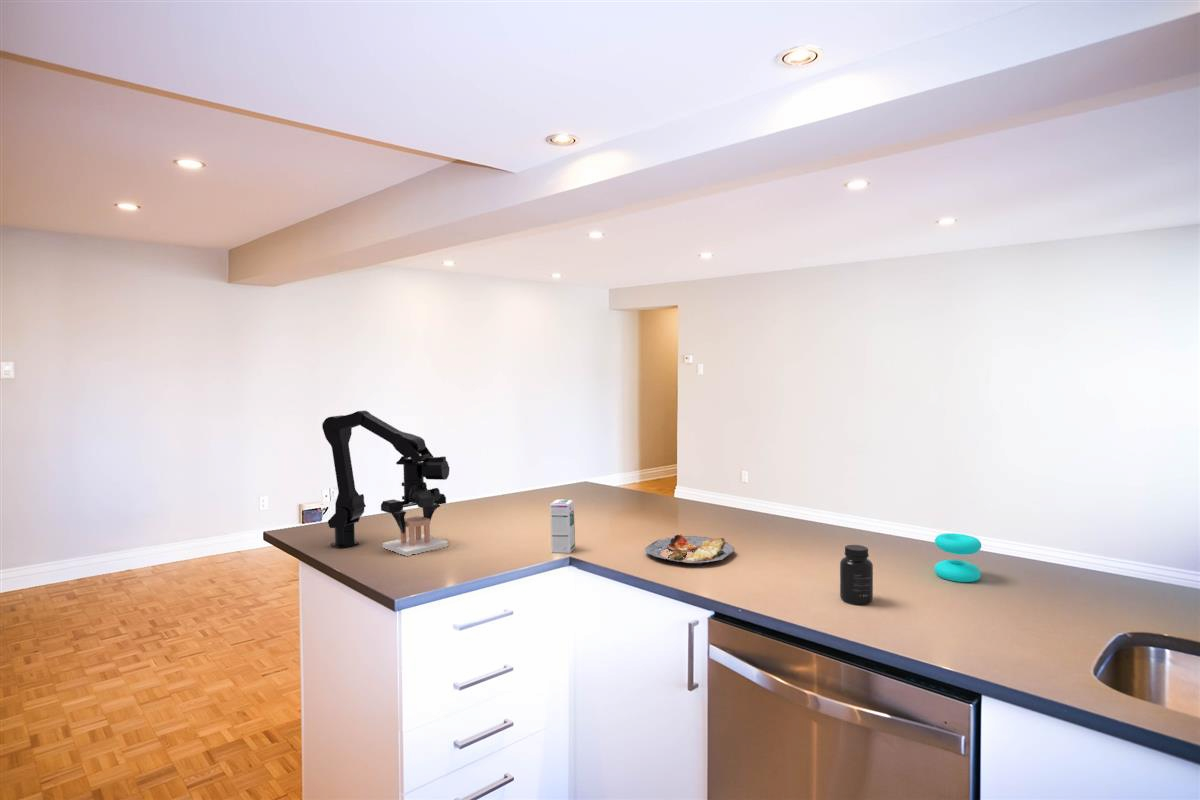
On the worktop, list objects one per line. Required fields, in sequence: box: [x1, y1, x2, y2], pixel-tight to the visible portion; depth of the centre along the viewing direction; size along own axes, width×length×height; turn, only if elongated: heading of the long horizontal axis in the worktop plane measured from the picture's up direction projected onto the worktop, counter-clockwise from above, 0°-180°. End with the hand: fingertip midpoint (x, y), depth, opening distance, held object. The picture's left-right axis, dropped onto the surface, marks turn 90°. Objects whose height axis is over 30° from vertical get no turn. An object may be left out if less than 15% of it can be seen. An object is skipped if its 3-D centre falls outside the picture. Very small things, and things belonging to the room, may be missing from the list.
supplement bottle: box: [839, 544, 874, 606], centre depth 142 cm, size 7×7×12 cm
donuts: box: [934, 532, 982, 583], centre depth 157 cm, size 10×10×10 cm
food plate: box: [644, 534, 736, 565], centre depth 180 cm, size 25×23×4 cm
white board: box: [381, 533, 450, 557], centre depth 191 cm, size 14×14×2 cm
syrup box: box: [549, 498, 576, 554], centre depth 186 cm, size 6×6×14 cm
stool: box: [399, 515, 431, 546], centre depth 191 cm, size 6×6×7 cm
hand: (415, 530), depth 191 cm, fingers open, 7 cm apart
